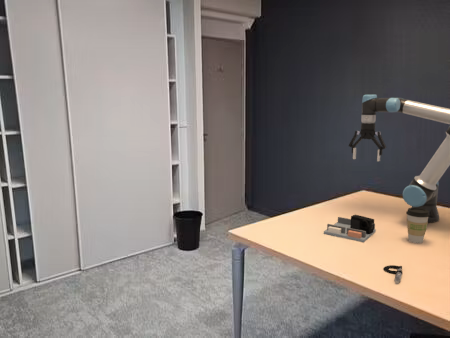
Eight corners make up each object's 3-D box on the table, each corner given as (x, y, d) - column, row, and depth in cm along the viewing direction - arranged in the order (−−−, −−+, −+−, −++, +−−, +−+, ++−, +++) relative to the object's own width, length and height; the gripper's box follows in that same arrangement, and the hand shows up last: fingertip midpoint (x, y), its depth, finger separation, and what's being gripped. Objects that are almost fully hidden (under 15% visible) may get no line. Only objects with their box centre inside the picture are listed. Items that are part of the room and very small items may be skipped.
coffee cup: (418, 246, 175) (420, 214, 173) (399, 239, 184) (401, 209, 181) (432, 242, 180) (434, 211, 177) (413, 235, 188) (415, 206, 186)
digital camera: (348, 229, 194) (349, 216, 193) (354, 227, 198) (355, 214, 197) (367, 235, 187) (368, 221, 185) (373, 232, 190) (374, 218, 189)
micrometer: (384, 266, 156) (384, 260, 156) (403, 269, 153) (404, 263, 152) (378, 281, 144) (379, 275, 143) (399, 285, 140) (400, 279, 140)
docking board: (375, 231, 195) (376, 223, 194) (363, 242, 181) (364, 233, 180) (337, 224, 207) (337, 216, 206) (323, 233, 193) (323, 225, 192)
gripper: (343, 122, 220) (342, 159, 224) (389, 123, 205) (387, 162, 209) (348, 121, 226) (347, 157, 229) (393, 122, 210) (391, 161, 214)
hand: (366, 160), depth 219 cm, fingers open, 13 cm apart
